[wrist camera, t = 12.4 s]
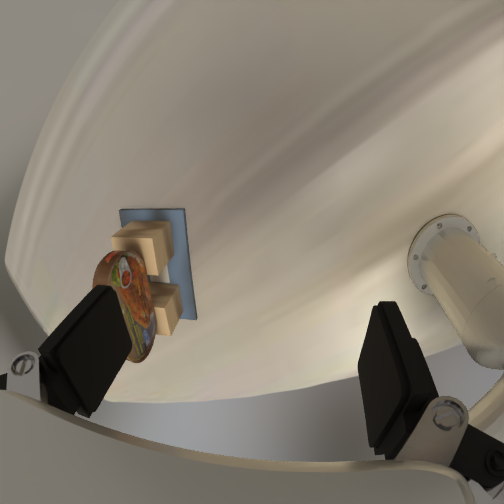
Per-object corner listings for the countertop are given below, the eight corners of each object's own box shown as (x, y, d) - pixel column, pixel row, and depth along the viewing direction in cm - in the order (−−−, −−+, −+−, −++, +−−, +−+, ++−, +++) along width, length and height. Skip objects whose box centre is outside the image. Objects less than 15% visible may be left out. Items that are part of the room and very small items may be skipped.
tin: (160, 335, 40) (138, 377, 33) (141, 332, 41) (117, 372, 33) (141, 238, 34) (105, 273, 26) (119, 237, 34) (81, 270, 27)
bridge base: (184, 208, 39) (166, 226, 33) (197, 317, 46) (185, 345, 41) (121, 209, 40) (96, 225, 34) (141, 311, 48) (125, 336, 42)
